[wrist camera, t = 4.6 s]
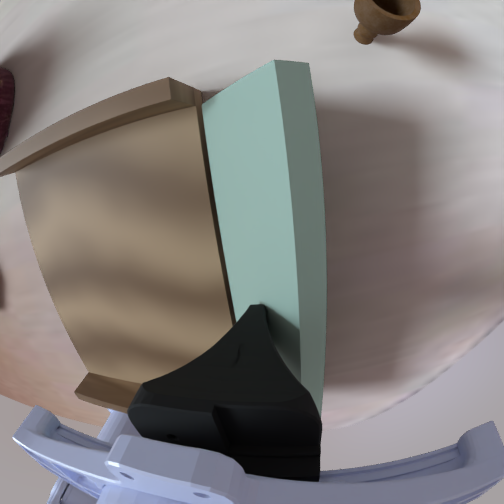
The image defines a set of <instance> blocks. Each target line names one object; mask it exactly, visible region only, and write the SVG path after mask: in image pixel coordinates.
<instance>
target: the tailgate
mask: <svg viewBox="0 0 504 504" xmlns="http://www.w3.org/2000/svg"><path fill="white" fill-rule="evenodd" d="M202 113H203V120H204V127H205V135H206V142H207V149H208V156H209V163H210V169H211V176H212V183H213V189H214V196H215V202H216V208H217V214H218V221H219V227H220V233H221V239H222V245H223V250H224V256H225V262H226V268H227V273H228V279H229V285H230V290H231V296H232V301H233V306H234V312H235V317H236V322H237V321H238V320H239V319H240V317H241V316H242V315H243V314H244V313H245V311H246V310H247V309H248V307H249V306H250V305H252V304H264V305H265V307H266V312H267V320H268V328H269V332H270V335H271V338H272V340H273V342H274V345H275V347H276V349H277V351H278V353H279V354H280V356H281V358H282V360H283V361H284V363H285V364H286V366H287V367H288V368H289V370H290V371H291V372H292V374H293V375H294V376H295V377H296V379H297V380H298V381H299V382H300V383H301V384H302V385H303V386H304V387H305V388H306V389H307V390H308V391H309V392H310V394H311V396H312V398H313V400H314V402H315V404H316V407H317V409H318V412H319V415H320V418H321V410H322V398H323V385H324V369H325V349H326V317H327V260H326V228H325V207H324V191H323V177H322V165H321V153H320V143H319V134H318V125H317V116H316V108H315V101H314V94H313V87H312V80H311V73H310V67H309V63H304V62H294V61H284V60H273V61H271V62H269V63H267V64H265V65H264V66H262V67H260V68H258V69H257V70H255V71H253V72H251V73H250V74H248V75H246V76H245V77H243V78H241V79H240V80H238V81H237V82H235V83H233V84H232V85H230V86H229V87H227V88H226V89H224V90H222V91H221V92H219V93H218V94H216V95H215V96H213V97H212V98H210V99H209V100H208V101H206V102H205V103H203V104H202Z"/></svg>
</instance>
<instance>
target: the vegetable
mask: <svg viewBox="0 0 504 504" xmlns="http://www.w3.org/2000/svg"><path fill="white" fill-rule="evenodd" d="M14 89H15V87H14V78H13V75H12V73H11V72H10V71H9V70H7V69H4V68H0V153H1V151H2V149H3V146H4V143H5V140H6V138H7V136H8V128H9V124H10V119H11V114H12V109H13V104H14Z"/></svg>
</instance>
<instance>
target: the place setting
mask: <svg viewBox="0 0 504 504" xmlns="http://www.w3.org/2000/svg"><path fill="white" fill-rule="evenodd" d="M420 9H421V5H420V1H419V0H355V2H354V12H355V15H356V17H357V19H358V21H359V22H360V23H359V25H358V28H357V29H356V30H355V31H354V37H355V39H356V40H357V41H358V42H359V43H361V44H365V45H367V44H370V43H372V41H373V38H375V37H376V36H377V35H378V34H380V35H391V34H395V33H397V32H399V31H401V30H402V29H404V28H405V27H406V26H408V25H409V24H410V23H411V22H412V21H413V20H414V19H415V18H416V17H417V16H418V15H419V13H420Z"/></svg>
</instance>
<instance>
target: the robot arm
mask: <svg viewBox="0 0 504 504" xmlns="http://www.w3.org/2000/svg"><path fill="white" fill-rule="evenodd" d="M107 409H108V408H107ZM108 410H109V412H110V413H111V414H110V416H109V418H108V419H107V421H106V423H105V424H104V426H103V428H102V430H101V431H100V433H99V435H98V437H97V438H94V437H91V436H89V435H86V434H84V433H81V432H79V431H76V430H74V429H72V428H69V427H67V426H65V425H63V424H61V423H60V421H59V420H58V419H57V418H56V417H55V415H54V414H52V413H51V412H50V411H48V410H46V409H44V408H42V407H40V406H38V405H35V407H34V408H33V409H32V411H31V412H30V413H29V415H28V416H27V417H26V419H25V420H24V421H23V423H22V424H21V425H20V427H19V428H18V430H17V431H16V432H15V434H14V435H13V439H14V440H15V441H16V442H17V443H18V444H19V445H20V446H21V447H22V448H23V449H24V450H25V451H26V452H27V453H28V454H29V455H30V456H31V457H32V458H33V459H34V460H36V461H37V462H38V463H39V464H40V465H41V466H42V467H44V468H46V469H47V470H49V471H50V472H51V473H53V474H55V475H57V476H58V479H57V481H56V483H55V485H54V487H53V489H52V491H51V493H50V498H49V500H48V501H47V503H46V504H466V503H468V502H470V501H473V500H475V499H477V498H479V497H480V496H481V495H483V494H484V493H485V492H487V491H488V490H489V489H491V488H492V487H493V486H495V485H496V484H497V483H498V482H500V480H502V479H503V478H504V446H503V443H502V441H501V438H500V436H499V433H498V431H497V428H496V426H495V424H494V422H493V421H489V422H487V423H485V424H482V425H480V426H478V427H475V428H473V429H471V430H468V431H467V432H466V433H464V434H463V435H462V436H461V437H460V439H459V441H458V443H456V444H453V445H450V446H448V447H445V448H441V449H438V450H435V451H432V452H428V453H425V454H421V455H417V456H413V457H409V458H405V459H401V460H397V461H392V462H387V463H382V464H376V465H371V466H364V467H357V468H349V469H340V470H329V471H320V454H321V447H320V443H321V434H322V422H321V418H320V415H319V412H318V409H317V407H316V404H315V402H314V400H313V398H312V396H311V394H310V392H309V391H308V390H307V389H306V388H305V387H304V386H303V385H302V384H301V383H300V382H299V381H298V380H297V379H296V377H295V376H294V375H293V374H292V372H291V371H290V370H289V368H288V367H287V366H286V364H285V363H284V361H283V360H282V358H281V356H280V354H279V353H278V351H277V349H276V347H275V345H274V342H273V340H272V338H271V335H270V332H269V328H268V320H267V312H266V307H265V305H264V304H252V305H250V306H249V307H248V309H247V310H246V311H245V313H244V314H243V315H242V316H241V317H240V319H239V320H238V321H237V322H236V323H235V324H234V326H233V327H232V328H231V329H230V330H229V331H228V332H227V333H226V334H225V335H224V336H223V337H222V338H221V339H220V340H219V341H218V342H217V343H216V344H214V345H213V346H212V347H211V348H210V349H208V350H207V351H206V352H204V353H203V354H202V355H200V356H198V357H197V358H195V359H194V360H192V361H191V362H189V363H187V364H186V365H184V366H182V367H180V368H178V369H176V370H174V371H172V372H170V373H168V374H165V375H163V376H161V377H158V378H155V379H152V380H150V381H147V382H144V383H142V385H141V386H140V388H139V389H138V391H137V393H136V395H135V396H134V398H133V400H132V402H131V404H130V406H129V408H128V410H127V414H126V413H122V412H119V411H115V410H112V409H108ZM61 498H62V500H61Z"/></svg>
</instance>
